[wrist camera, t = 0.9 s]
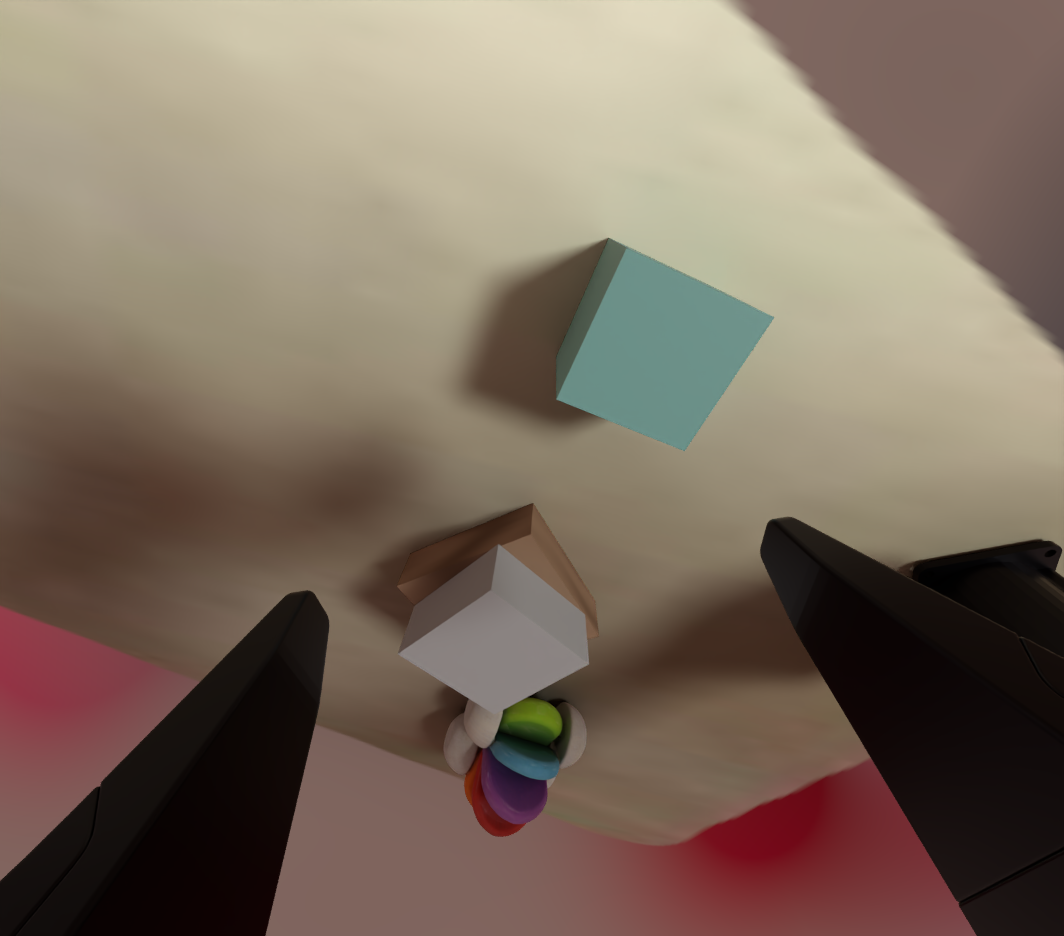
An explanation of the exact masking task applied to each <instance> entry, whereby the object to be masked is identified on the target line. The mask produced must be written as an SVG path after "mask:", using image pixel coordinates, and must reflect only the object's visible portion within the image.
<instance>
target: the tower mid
mask: <svg viewBox="0 0 1064 936" xmlns="http://www.w3.org/2000/svg"><path fill="white" fill-rule="evenodd" d="M398 655H400V656H402V657H403V658H405V659H406V660H408V661H410V662H411V663H413V664H414V665H416V666H418V667H419V668H421V669H422V670H424V671H426V672H427V673H429V674H430V675H432V676H434V677H435V678H437V679H438V680H440V681H442V682H443V683H445V684H446V685H448V686H450V687H451V688H453V689H454V690H456V691H457V692H459V693H461V694H462V695H464V696H465V697H467V698H469V699H470V700H472V701H473V702H475V703H477V704H478V705H480V706H481V707H483V708H485V709H486V710H488V711H489V712H491V713H493V714H494V715H495V714H496V713H498V712H500V711H502V710H504V709H506V708H508V707H510V706H512V705H513V704H515V703H517V702H519V701H521V700H523V699H525V698H527V697H528V696H530V695H532V694H534V693H536V692H538V691H540V690H542V689H543V688H545V687H547V686H549V685H551V684H553V683H555V682H557V681H558V680H560V679H562V678H564V677H566V676H568V675H570V674H572V673H573V672H575V671H577V670H579V669H581V668H583V667H585V666H587V665H588V664H589V657H588V645H587V633H586V620H585V614H584V613H583V612H581V611H580V610H579V609H578V608H576V607H575V606H574V605H573V604H572V603H570V602H569V601H568V600H567V599H565V598H564V597H563V596H562V595H561V594H559V593H558V592H557V591H556V590H554V589H553V588H552V587H551V586H550V585H548V584H547V583H546V582H545V581H543V580H542V579H541V578H540V577H539V576H537V575H536V574H535V573H534V572H532V571H531V570H530V569H529V568H527V567H526V566H525V565H524V564H523V563H521V562H520V561H519V560H518V559H516V558H515V557H514V556H513V555H512V554H510V553H509V552H508V551H507V550H505V549H504V548H503V547H502V546H501V545H499V544H498V545H496V546H495V547H494V548H492V549H491V550H490V551H488V552H487V553H485V554H484V555H483V556H481V557H480V558H479V559H477V560H476V561H475V562H473V563H472V564H471V565H469V566H468V567H466V568H465V569H464V570H462V571H461V572H460V573H458V574H457V575H456V576H454V577H453V578H451V579H450V580H449V581H447V582H446V583H445V584H443V585H442V586H441V587H439V588H438V589H437V590H435V591H434V592H432V593H431V594H430V595H428V596H427V597H426V598H424V599H423V600H422V601H420V602H419V603H418V604H416V605H415V606H414V609H413V611H412V614H411V617H410V620H409V623H408V626H407V629H406V632H405V634H404V637H403V640H402V643H401V646H400V649H399V652H398Z"/></svg>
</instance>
